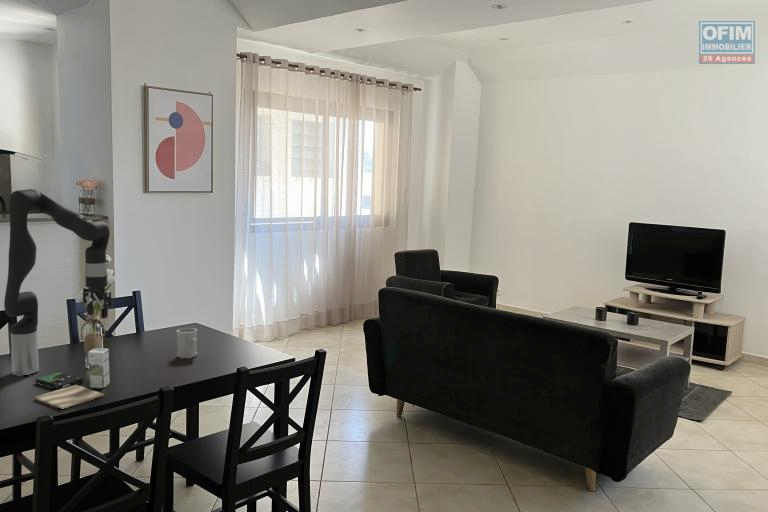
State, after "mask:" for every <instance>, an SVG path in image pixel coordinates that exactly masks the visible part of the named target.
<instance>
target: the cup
mask: <svg viewBox="0 0 768 512" xmlns="http://www.w3.org/2000/svg"><path fill="white" fill-rule="evenodd" d="M176 336H177V337H176V338H177V352H176V357H178V358H179V359H184V358H187V359H193V358H195V356H196V357H197V356H198V351H197V348H198V339H197V337H198V329H197V328H196V327H195V328H194V327H185V328H179V329H177V330H176ZM192 357H193V358H192Z"/></svg>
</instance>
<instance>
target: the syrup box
mask: <svg viewBox="0 0 768 512" xmlns="http://www.w3.org/2000/svg"><path fill="white" fill-rule="evenodd" d="M109 350H110V349H109V348H94V347H93V348H91V349H90V350H89V352H87V356H88V359H87V360H88V376H89V377H88V382H89V385H88V386H89V389H101V388H104V387H106V386H107V385H108V384H109V383H111V382H110V379H111V377H110V352H109ZM109 385H110V384H109ZM109 385H108V386H109ZM108 386H107V387H108ZM107 387H106V388H107ZM104 389H105V388H104Z"/></svg>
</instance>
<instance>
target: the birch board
mask: <svg viewBox="0 0 768 512" xmlns="http://www.w3.org/2000/svg"><path fill="white" fill-rule="evenodd" d="M102 396H104V397H105V394H104V393H103V392H99V391H96V390H95V389H94V390H93V389H92V388H87V387H84V386H83V385H74V386H70V387H67V388H63V389H60V390H53V391H49V392H47V393H42V394H39V395H35V396H34V400H35V399H38V400H40V401H42V402H45V403H47V404H50V405H53V406H55V407H58V408H61V409H64V408H68V407H71V406H74V405H77V404H81V403H84V402H87V401H90V402H92V401H91V400H93V401H95V400H94V399H96V398H99V397H102ZM87 403H88V402H87ZM47 404H46V405H47ZM84 404H85V403H84ZM81 405H82V404H81ZM68 409H69V408H68Z"/></svg>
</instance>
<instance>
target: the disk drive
mask: <svg viewBox="0 0 768 512" xmlns="http://www.w3.org/2000/svg"><path fill="white" fill-rule="evenodd" d="M36 382H37V383H40V384H43V385H46V386H49V387H52V388H55V389H59V390H60V389H63V388H66V387H69V386H73V385H76V384H79V383H83V384H84V377H80V376H77V375H73V374H69V373H66V372H62V371H57V372H54V373H50V374H47V375H43V376H41V377H37V378H36V379H35V383H36ZM55 389H54V390H55Z"/></svg>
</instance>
